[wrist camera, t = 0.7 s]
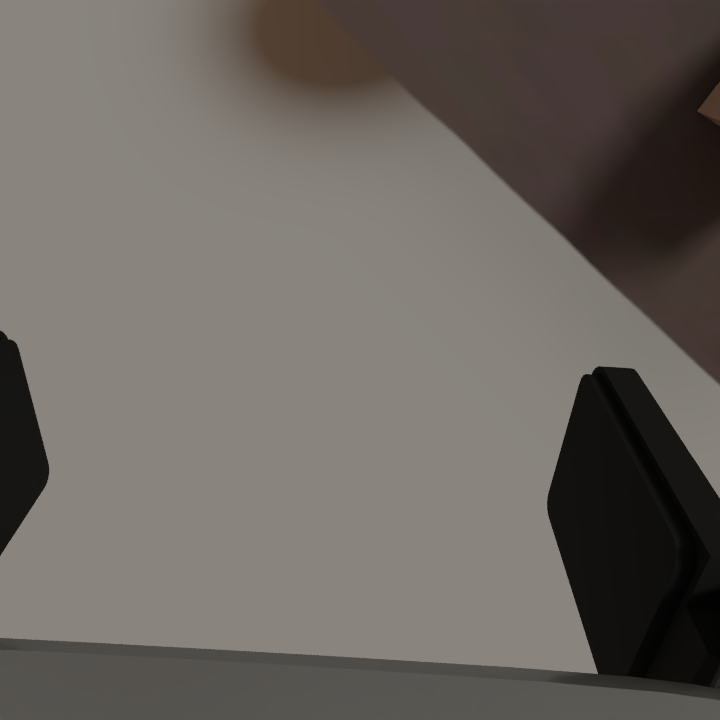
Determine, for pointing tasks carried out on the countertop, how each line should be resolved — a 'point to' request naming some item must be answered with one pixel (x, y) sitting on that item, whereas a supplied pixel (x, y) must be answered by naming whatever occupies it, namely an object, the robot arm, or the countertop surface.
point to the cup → (712, 106)
